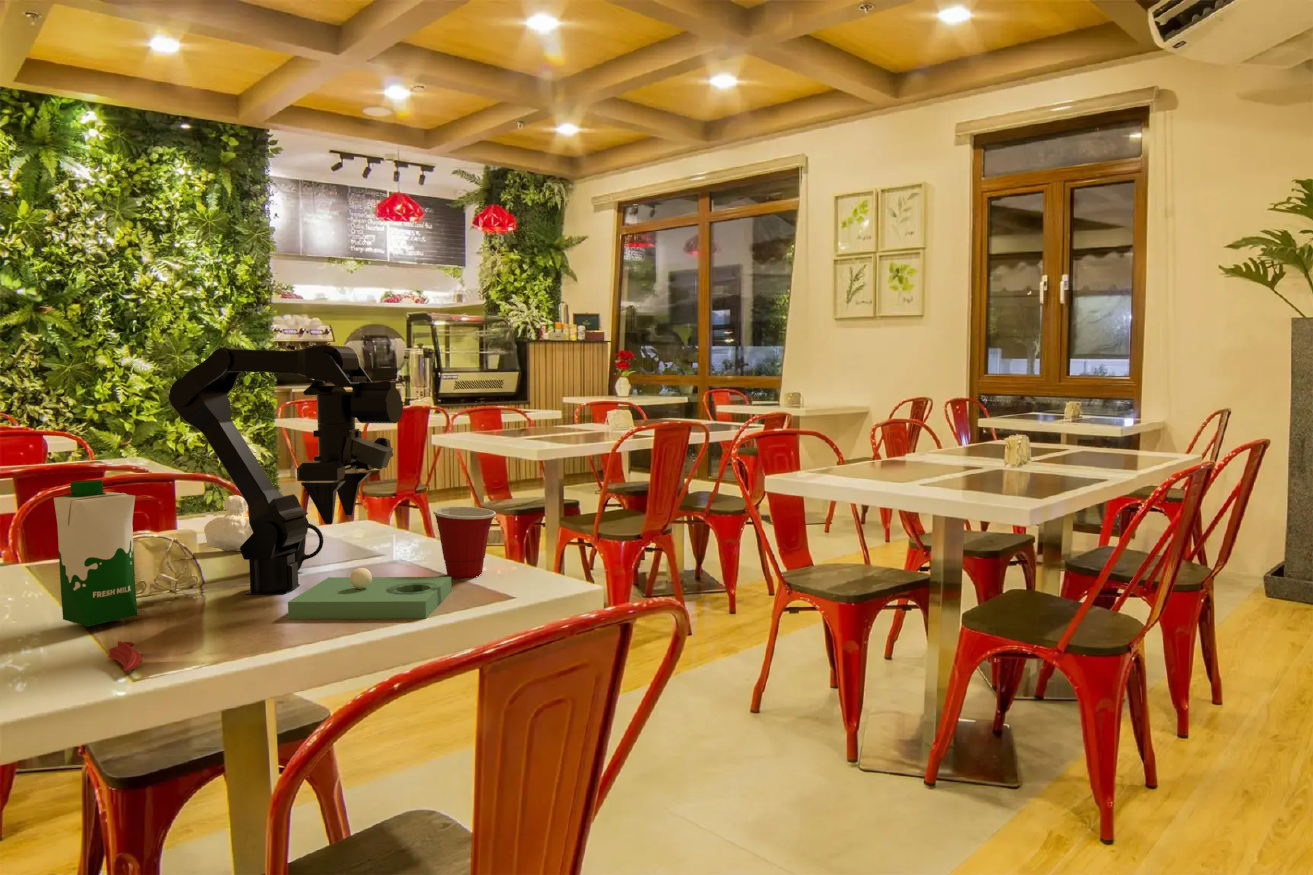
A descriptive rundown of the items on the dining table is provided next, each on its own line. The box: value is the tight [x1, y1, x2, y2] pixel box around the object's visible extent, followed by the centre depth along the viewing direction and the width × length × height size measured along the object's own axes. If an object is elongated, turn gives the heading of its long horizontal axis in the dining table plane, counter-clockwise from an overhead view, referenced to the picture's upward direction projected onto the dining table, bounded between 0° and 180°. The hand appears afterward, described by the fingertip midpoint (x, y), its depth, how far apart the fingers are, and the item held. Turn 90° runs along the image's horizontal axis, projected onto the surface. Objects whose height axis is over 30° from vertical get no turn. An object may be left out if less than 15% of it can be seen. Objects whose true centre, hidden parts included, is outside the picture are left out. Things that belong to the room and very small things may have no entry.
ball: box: [349, 567, 373, 589], centre depth 137 cm, size 3×3×3 cm
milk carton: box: [53, 479, 138, 627], centre depth 130 cm, size 9×9×20 cm
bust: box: [203, 494, 253, 552], centre depth 181 cm, size 12×8×11 cm, turn 91°
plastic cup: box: [432, 506, 497, 580], centre depth 156 cm, size 11×11×12 cm
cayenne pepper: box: [107, 640, 143, 672], centre depth 113 cm, size 12×5×2 cm, turn 20°
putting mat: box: [287, 576, 452, 620], centre depth 137 cm, size 20×16×2 cm
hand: (339, 519), depth 144 cm, fingers open, 9 cm apart
